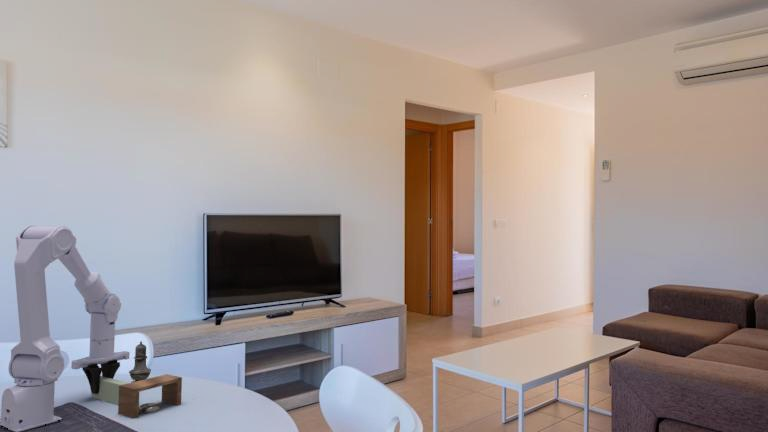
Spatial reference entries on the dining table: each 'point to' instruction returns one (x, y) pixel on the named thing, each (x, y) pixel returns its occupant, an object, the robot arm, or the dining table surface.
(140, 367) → the salt shaker
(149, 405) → the disc
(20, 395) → the robot arm
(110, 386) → the bar
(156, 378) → the wooden bridge block
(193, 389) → the dining table surface
